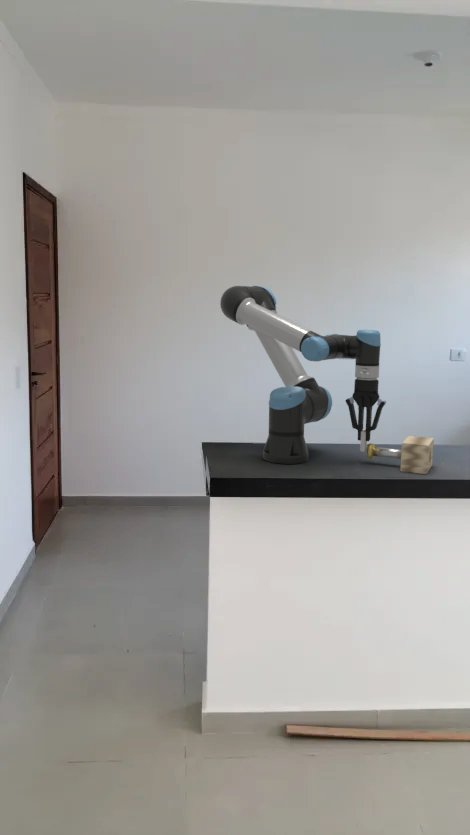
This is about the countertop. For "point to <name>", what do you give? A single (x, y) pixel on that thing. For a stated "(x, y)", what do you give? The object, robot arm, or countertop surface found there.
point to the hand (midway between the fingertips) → (363, 450)
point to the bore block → (417, 454)
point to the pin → (382, 452)
